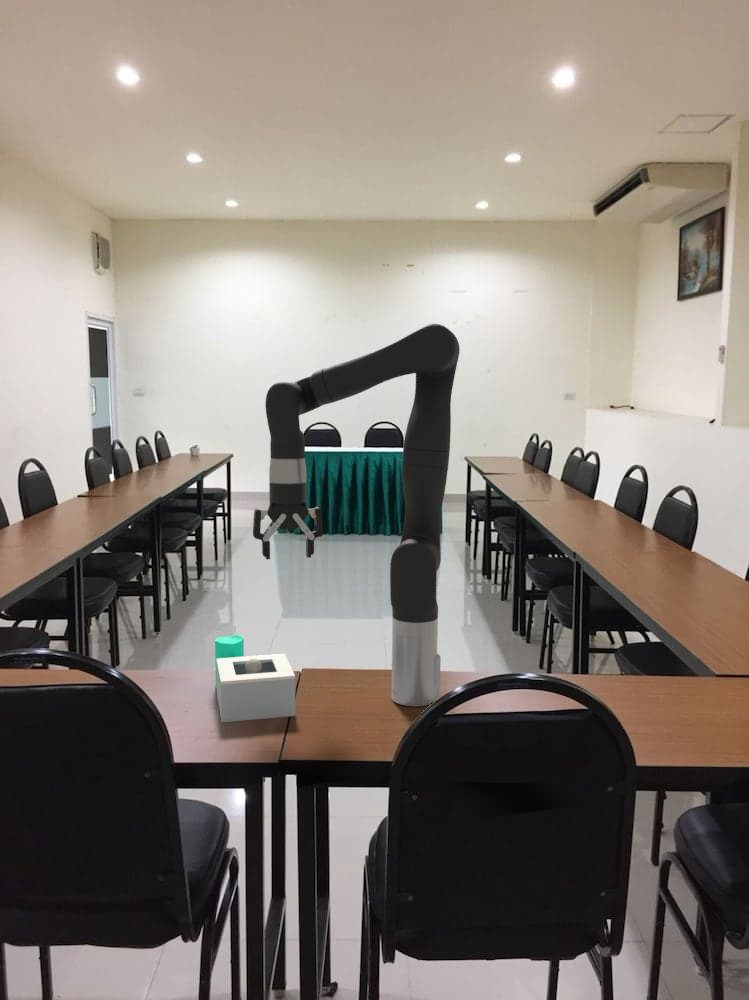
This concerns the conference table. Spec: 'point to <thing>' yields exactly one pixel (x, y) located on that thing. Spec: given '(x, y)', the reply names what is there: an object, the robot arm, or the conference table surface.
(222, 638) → the candle
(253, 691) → the tissue box
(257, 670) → the chess piece
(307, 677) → the conference table surface
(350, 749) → the conference table surface
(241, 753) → the conference table surface
